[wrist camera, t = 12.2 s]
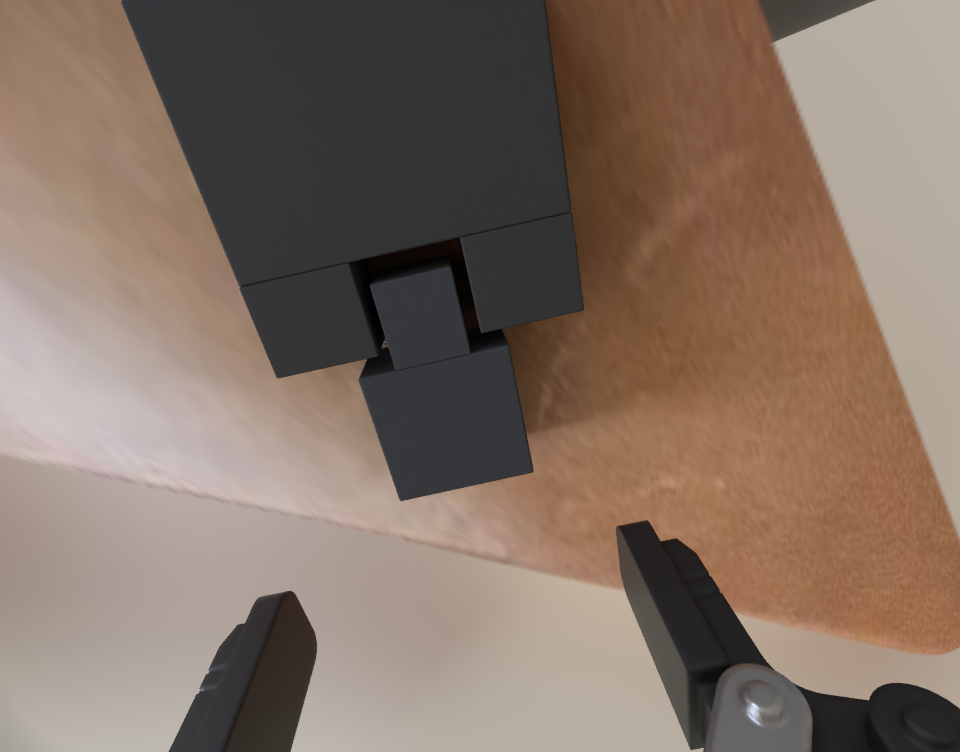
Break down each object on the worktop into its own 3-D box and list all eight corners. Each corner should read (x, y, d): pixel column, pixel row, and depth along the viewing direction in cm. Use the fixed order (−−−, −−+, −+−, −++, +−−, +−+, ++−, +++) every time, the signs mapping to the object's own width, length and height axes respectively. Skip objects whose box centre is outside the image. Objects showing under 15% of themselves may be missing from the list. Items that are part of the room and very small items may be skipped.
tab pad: (345, 277, 20) (328, 294, 17) (485, 245, 20) (492, 257, 17) (405, 461, 24) (399, 502, 21) (522, 435, 23) (534, 472, 21)
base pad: (176, 31, 16) (118, -1, 13) (517, -49, 16) (533, -100, 13) (300, 351, 21) (276, 379, 18) (564, 291, 21) (584, 310, 18)
